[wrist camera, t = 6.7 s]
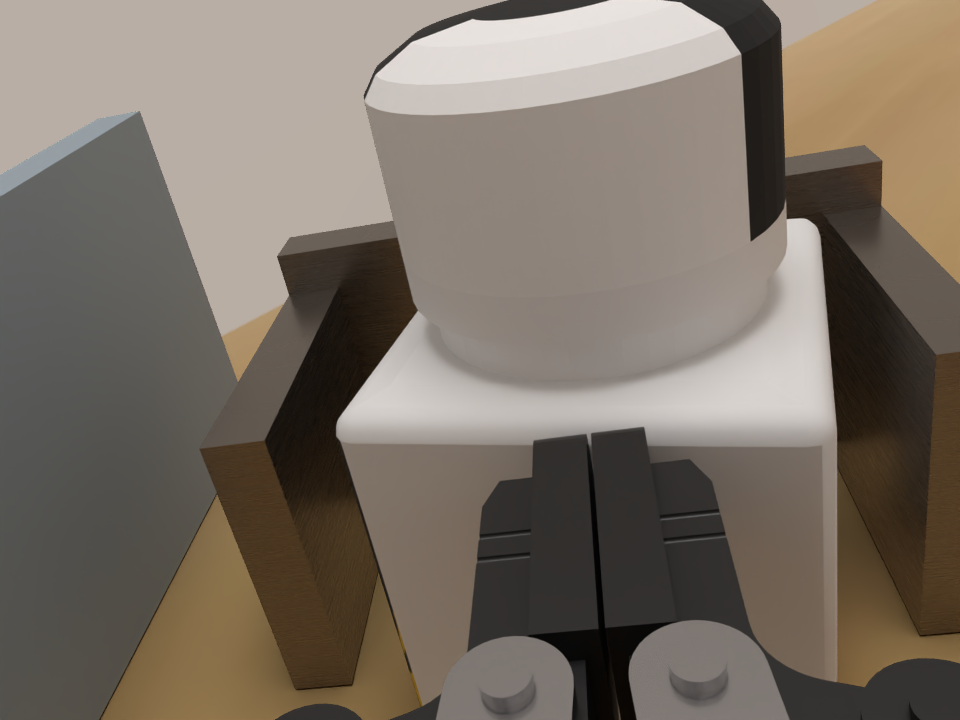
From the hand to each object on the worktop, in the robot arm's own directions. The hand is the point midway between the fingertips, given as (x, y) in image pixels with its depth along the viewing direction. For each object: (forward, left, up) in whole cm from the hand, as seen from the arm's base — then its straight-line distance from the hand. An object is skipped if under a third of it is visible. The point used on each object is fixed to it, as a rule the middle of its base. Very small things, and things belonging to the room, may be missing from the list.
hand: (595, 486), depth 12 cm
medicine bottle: (0, +4, -6) cm, 7 cm away
